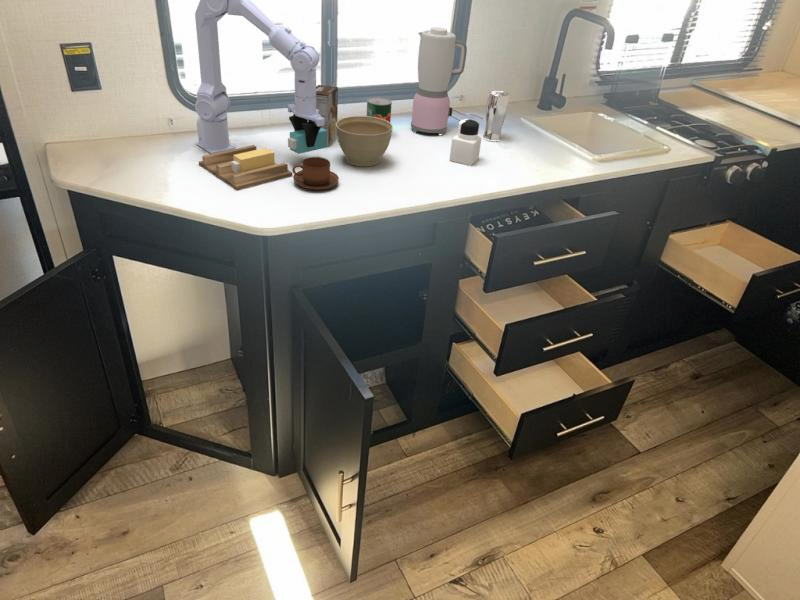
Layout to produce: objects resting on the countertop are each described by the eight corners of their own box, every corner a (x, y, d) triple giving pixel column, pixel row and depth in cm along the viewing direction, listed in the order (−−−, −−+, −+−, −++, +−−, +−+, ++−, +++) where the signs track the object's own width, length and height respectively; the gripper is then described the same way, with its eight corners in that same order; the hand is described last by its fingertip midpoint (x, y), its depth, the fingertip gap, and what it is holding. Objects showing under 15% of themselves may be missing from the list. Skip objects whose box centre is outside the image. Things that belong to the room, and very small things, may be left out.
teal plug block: (286, 150, 169) (286, 132, 166) (318, 143, 176) (318, 126, 173) (294, 154, 167) (294, 137, 164) (327, 147, 174) (327, 130, 171)
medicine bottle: (478, 159, 186) (484, 120, 179) (471, 166, 180) (476, 126, 174) (457, 153, 188) (462, 115, 181) (448, 161, 183) (453, 121, 176)
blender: (410, 135, 199) (419, 31, 181) (409, 123, 209) (418, 23, 191) (457, 138, 200) (471, 35, 182) (455, 126, 210) (467, 27, 192)
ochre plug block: (230, 173, 160) (229, 155, 157) (266, 165, 167) (265, 147, 164) (238, 178, 158) (237, 160, 155) (274, 169, 164) (274, 152, 162)
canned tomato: (375, 128, 202) (377, 95, 196) (394, 134, 198) (396, 101, 192) (360, 134, 196) (362, 100, 190) (379, 140, 193) (381, 106, 186)
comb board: (199, 164, 166) (197, 154, 164) (252, 153, 176) (252, 143, 174) (237, 190, 154) (236, 179, 153) (292, 175, 164) (292, 165, 163)
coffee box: (318, 135, 192) (318, 83, 183) (337, 138, 192) (338, 86, 183) (309, 144, 185) (308, 91, 176) (329, 147, 184) (329, 94, 175)
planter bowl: (352, 147, 186) (353, 112, 180) (399, 159, 181) (402, 123, 175) (324, 163, 174) (325, 126, 168) (374, 176, 169) (376, 138, 162)
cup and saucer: (300, 195, 155) (300, 173, 151) (288, 177, 164) (287, 155, 160) (344, 191, 160) (345, 169, 156) (330, 173, 168) (330, 152, 165)
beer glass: (505, 138, 203) (513, 93, 195) (496, 143, 198) (504, 97, 190) (486, 133, 206) (494, 88, 198) (477, 138, 201) (484, 93, 193)
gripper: (333, 100, 161) (333, 149, 168) (302, 86, 169) (302, 133, 177) (312, 104, 157) (312, 154, 164) (280, 89, 165) (282, 138, 173)
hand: (305, 143), depth 170 cm, fingers closed on teal plug block, 4 cm apart
